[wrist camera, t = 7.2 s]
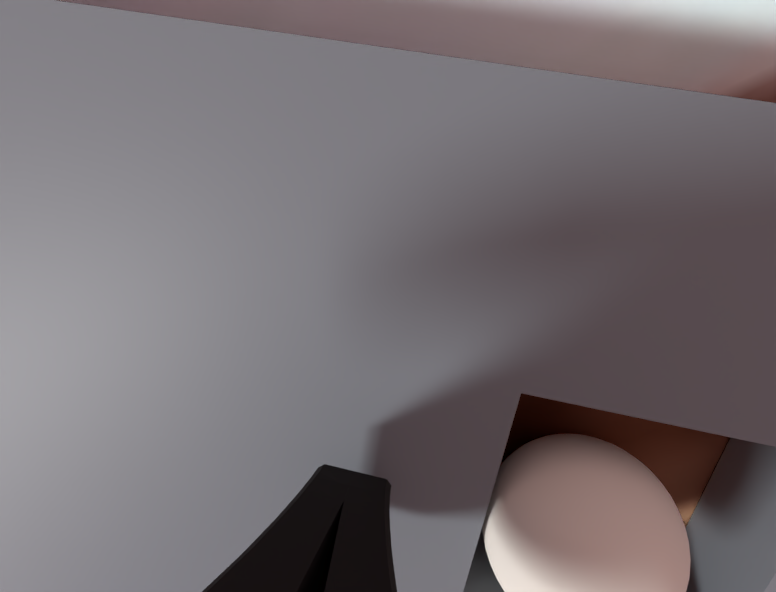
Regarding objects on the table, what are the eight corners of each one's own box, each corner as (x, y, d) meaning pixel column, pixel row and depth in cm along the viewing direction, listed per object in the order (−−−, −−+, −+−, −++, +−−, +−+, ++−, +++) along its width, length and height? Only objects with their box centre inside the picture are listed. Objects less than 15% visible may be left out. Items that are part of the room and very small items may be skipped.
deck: (716, 721, 13) (769, 842, 11) (-6, 526, 16) (-87, 593, 13) (1076, 170, 8) (1331, 182, 6) (-111, -5, 10) (-280, -48, 8)
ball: (566, 497, 13) (706, 638, 10) (445, 551, 11) (559, 741, 8) (590, 380, 11) (770, 501, 8) (452, 426, 10) (600, 598, 6)
